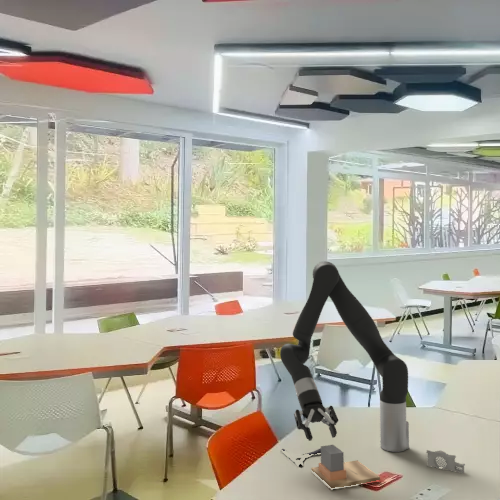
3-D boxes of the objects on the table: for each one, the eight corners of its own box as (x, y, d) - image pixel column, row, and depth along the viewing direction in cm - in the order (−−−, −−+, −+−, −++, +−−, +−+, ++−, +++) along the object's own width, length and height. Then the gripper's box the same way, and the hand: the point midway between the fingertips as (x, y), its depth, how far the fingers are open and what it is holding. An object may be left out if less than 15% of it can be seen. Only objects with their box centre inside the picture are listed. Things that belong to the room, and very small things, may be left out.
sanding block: (334, 468, 180) (333, 443, 180) (346, 478, 172) (345, 452, 172) (318, 470, 178) (318, 446, 178) (330, 480, 171) (329, 455, 171)
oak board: (357, 464, 186) (357, 460, 186) (380, 482, 173) (380, 476, 173) (311, 472, 181) (311, 467, 181) (331, 490, 167) (331, 485, 167)
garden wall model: (465, 472, 179) (465, 454, 179) (464, 474, 178) (463, 456, 178) (427, 464, 186) (427, 447, 186) (426, 466, 184) (426, 449, 184)
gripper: (291, 390, 187) (306, 435, 176) (329, 386, 191) (346, 430, 181) (285, 401, 192) (299, 446, 181) (323, 397, 197) (338, 440, 186)
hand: (322, 438), depth 181 cm, fingers open, 8 cm apart
